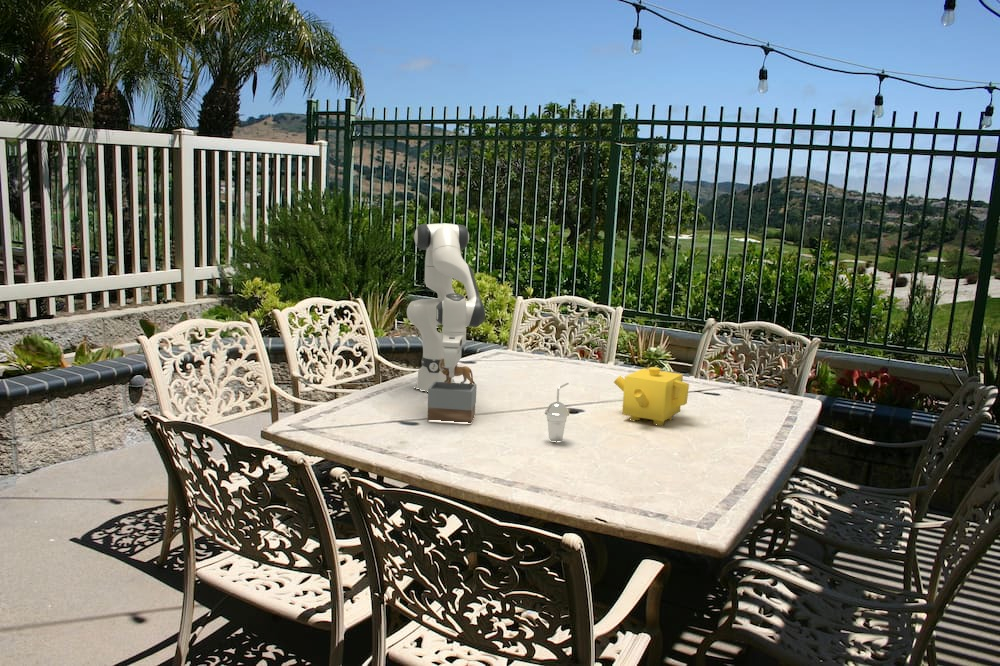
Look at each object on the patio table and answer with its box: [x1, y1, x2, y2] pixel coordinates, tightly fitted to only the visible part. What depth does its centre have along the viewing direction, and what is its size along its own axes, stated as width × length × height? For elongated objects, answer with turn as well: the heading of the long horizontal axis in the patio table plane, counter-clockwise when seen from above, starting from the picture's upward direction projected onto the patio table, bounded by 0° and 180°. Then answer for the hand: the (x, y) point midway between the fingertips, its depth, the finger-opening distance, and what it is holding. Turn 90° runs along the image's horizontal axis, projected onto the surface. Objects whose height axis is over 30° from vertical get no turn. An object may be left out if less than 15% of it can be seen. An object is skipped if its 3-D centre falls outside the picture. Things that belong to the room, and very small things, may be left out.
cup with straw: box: [544, 382, 570, 442], centre depth 277 cm, size 8×9×20 cm
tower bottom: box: [427, 404, 476, 423], centre depth 300 cm, size 12×16×6 cm
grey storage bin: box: [427, 382, 477, 410], centre depth 299 cm, size 12×16×7 cm
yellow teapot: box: [613, 366, 690, 426], centre depth 311 cm, size 35×29×20 cm
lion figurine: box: [439, 358, 476, 386], centre depth 298 cm, size 15×5×9 cm, turn 109°
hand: (452, 375), depth 298 cm, fingers closed on lion figurine, 4 cm apart
